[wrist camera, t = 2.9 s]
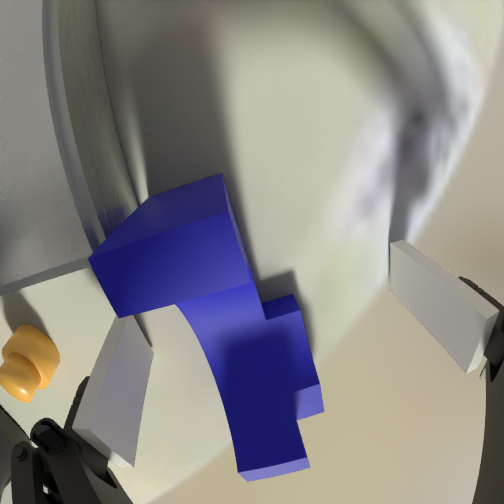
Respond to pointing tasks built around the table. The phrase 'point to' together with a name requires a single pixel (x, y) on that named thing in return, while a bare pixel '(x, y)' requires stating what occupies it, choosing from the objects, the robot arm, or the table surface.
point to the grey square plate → (55, 143)
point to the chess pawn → (28, 362)
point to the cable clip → (219, 317)
